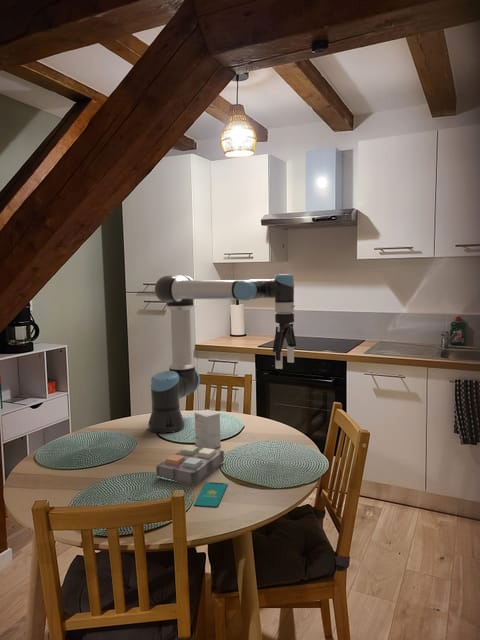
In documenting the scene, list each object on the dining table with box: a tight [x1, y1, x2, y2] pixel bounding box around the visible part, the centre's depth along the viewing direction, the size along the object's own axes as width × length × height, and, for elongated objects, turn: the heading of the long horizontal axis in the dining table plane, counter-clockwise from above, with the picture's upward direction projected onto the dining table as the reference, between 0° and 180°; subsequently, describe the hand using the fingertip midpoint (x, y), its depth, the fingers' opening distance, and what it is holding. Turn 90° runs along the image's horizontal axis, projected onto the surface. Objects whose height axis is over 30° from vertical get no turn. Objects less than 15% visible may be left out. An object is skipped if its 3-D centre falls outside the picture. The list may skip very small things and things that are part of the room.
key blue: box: [183, 457, 202, 469], centre depth 156 cm, size 4×4×3 cm
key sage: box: [180, 444, 199, 456], centre depth 167 cm, size 4×4×3 cm
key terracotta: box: [165, 453, 185, 466], centre depth 158 cm, size 4×4×3 cm
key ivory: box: [198, 448, 216, 459], centre depth 164 cm, size 4×4×3 cm
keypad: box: [156, 446, 225, 487], centre depth 161 cm, size 14×20×4 cm
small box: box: [194, 408, 222, 449], centre depth 183 cm, size 8×6×13 cm
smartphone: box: [193, 481, 228, 508], centre depth 144 cm, size 7×1×15 cm
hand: (285, 365), depth 194 cm, fingers open, 13 cm apart
